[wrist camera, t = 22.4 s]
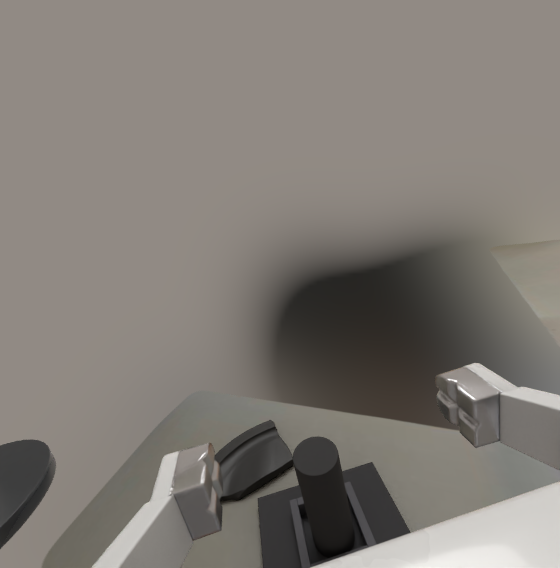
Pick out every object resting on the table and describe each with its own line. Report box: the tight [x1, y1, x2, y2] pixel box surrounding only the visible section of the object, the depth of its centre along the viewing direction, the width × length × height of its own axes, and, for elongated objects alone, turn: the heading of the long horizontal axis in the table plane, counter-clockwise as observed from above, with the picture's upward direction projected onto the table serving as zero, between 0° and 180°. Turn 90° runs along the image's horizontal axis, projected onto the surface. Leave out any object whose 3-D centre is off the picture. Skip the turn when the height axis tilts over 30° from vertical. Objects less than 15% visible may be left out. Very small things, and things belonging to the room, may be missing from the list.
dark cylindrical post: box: [293, 437, 355, 558], centre depth 27 cm, size 4×4×10 cm
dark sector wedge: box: [214, 420, 294, 501], centre depth 39 cm, size 8×14×2 cm, turn 114°
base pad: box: [258, 462, 410, 568], centre depth 28 cm, size 14×12×2 cm
